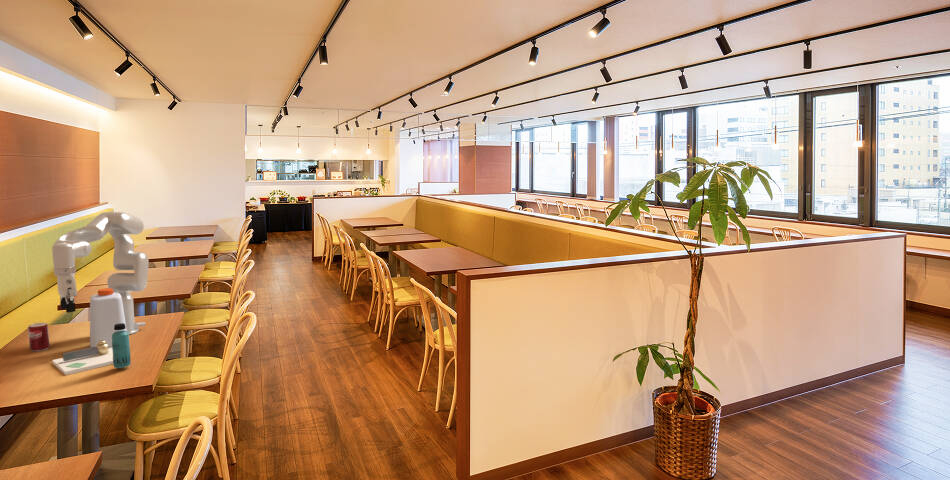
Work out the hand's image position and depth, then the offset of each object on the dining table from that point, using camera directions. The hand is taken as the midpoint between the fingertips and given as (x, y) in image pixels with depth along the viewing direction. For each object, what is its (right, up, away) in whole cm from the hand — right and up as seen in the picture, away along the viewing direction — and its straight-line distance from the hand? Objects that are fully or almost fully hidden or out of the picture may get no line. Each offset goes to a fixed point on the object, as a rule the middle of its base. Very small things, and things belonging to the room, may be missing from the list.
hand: (68, 310), depth 236 cm
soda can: (-25, -21, +16) cm, 36 cm away
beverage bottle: (+28, -25, -6) cm, 38 cm away
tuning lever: (+7, -21, +2) cm, 22 cm away
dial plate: (+9, -23, +1) cm, 25 cm away
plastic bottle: (+3, -21, +22) cm, 30 cm away
